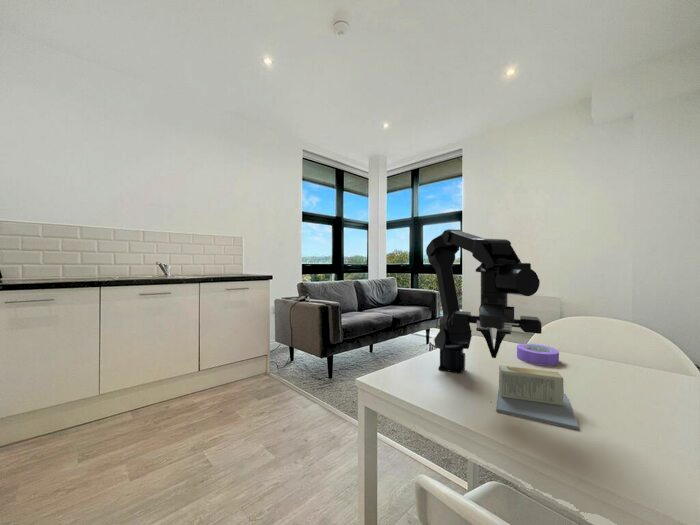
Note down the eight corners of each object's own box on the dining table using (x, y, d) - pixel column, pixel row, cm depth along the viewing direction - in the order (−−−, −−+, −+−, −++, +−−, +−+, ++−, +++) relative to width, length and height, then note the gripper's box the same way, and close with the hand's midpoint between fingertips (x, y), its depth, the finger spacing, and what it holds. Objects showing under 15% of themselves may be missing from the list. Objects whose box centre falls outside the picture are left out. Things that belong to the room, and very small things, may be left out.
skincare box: (498, 389, 71) (557, 399, 67) (500, 397, 67) (563, 408, 63) (499, 363, 71) (558, 371, 67) (501, 369, 67) (564, 378, 63)
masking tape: (568, 364, 92) (568, 352, 92) (538, 367, 89) (538, 355, 89) (535, 353, 104) (535, 342, 104) (508, 355, 101) (508, 344, 101)
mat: (496, 411, 62) (496, 408, 62) (499, 384, 76) (499, 382, 76) (579, 430, 55) (578, 426, 55) (565, 396, 69) (565, 394, 69)
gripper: (446, 292, 67) (446, 360, 67) (543, 297, 58) (543, 376, 58) (455, 289, 77) (455, 348, 77) (539, 292, 68) (539, 360, 67)
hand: (493, 357), depth 69 cm, fingers closed
